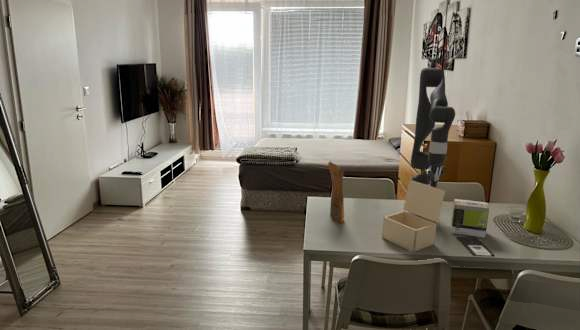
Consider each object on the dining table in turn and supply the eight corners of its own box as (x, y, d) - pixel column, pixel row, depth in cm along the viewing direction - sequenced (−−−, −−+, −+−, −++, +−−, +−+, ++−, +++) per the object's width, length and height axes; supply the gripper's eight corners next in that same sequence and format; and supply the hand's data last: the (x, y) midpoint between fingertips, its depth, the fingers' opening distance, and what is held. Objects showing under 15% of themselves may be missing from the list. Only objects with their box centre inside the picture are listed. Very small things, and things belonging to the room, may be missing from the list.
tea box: (483, 230, 207) (487, 201, 203) (485, 238, 197) (489, 208, 194) (450, 226, 211) (454, 197, 207) (450, 233, 202) (454, 204, 198)
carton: (401, 230, 203) (403, 211, 201) (434, 244, 189) (436, 223, 187) (381, 237, 195) (383, 217, 193) (413, 252, 181) (416, 230, 179)
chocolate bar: (475, 237, 198) (494, 254, 180) (475, 239, 198) (494, 256, 180) (456, 236, 197) (473, 254, 180) (456, 238, 198) (473, 256, 180)
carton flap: (403, 209, 201) (404, 209, 201) (437, 222, 186) (438, 222, 187) (409, 179, 198) (410, 179, 199) (444, 190, 184) (445, 190, 184)
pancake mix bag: (333, 224, 208) (336, 169, 201) (324, 210, 226) (327, 159, 219) (346, 224, 209) (350, 169, 202) (337, 210, 227) (340, 159, 220)
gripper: (439, 148, 197) (435, 184, 202) (421, 151, 190) (417, 188, 194) (453, 151, 192) (449, 188, 196) (435, 154, 184) (431, 192, 188)
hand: (433, 188), depth 195 cm, fingers closed
